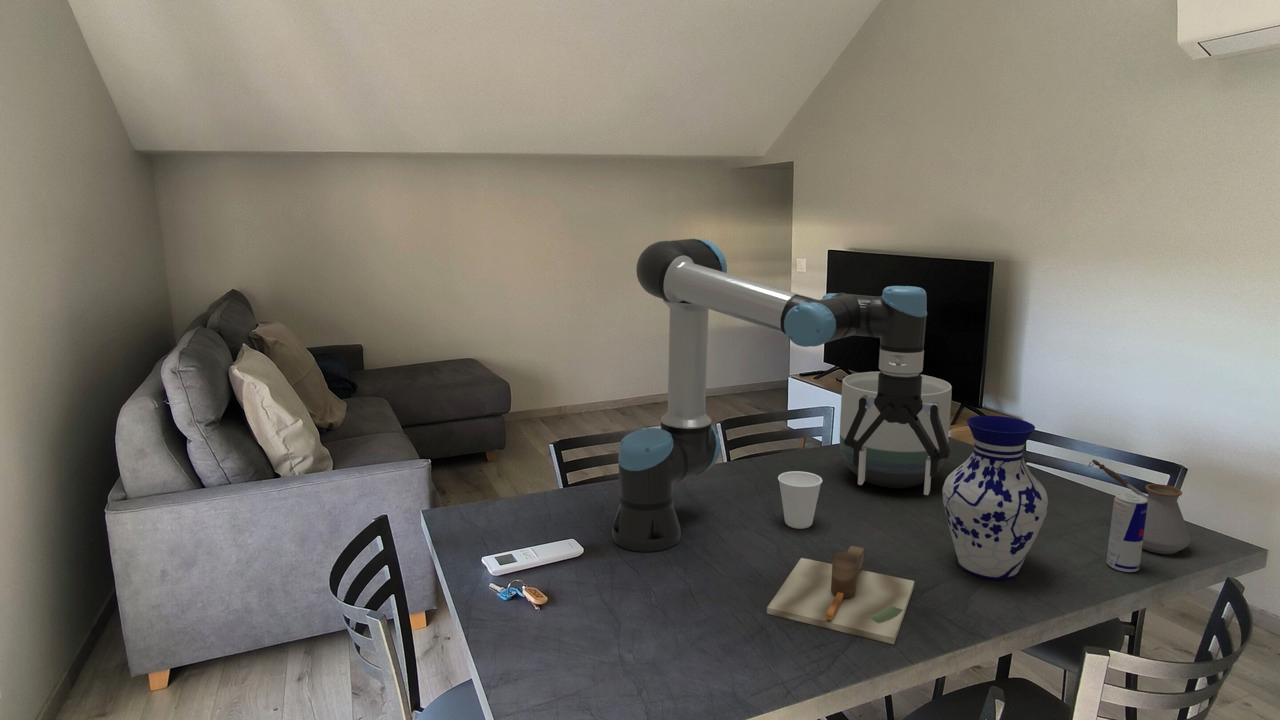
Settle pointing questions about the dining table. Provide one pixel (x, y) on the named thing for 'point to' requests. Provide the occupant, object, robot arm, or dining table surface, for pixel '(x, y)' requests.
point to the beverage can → (1127, 531)
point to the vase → (994, 500)
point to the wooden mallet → (844, 576)
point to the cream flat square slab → (844, 601)
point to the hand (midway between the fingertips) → (893, 487)
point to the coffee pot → (1159, 517)
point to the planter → (891, 432)
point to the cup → (799, 497)
